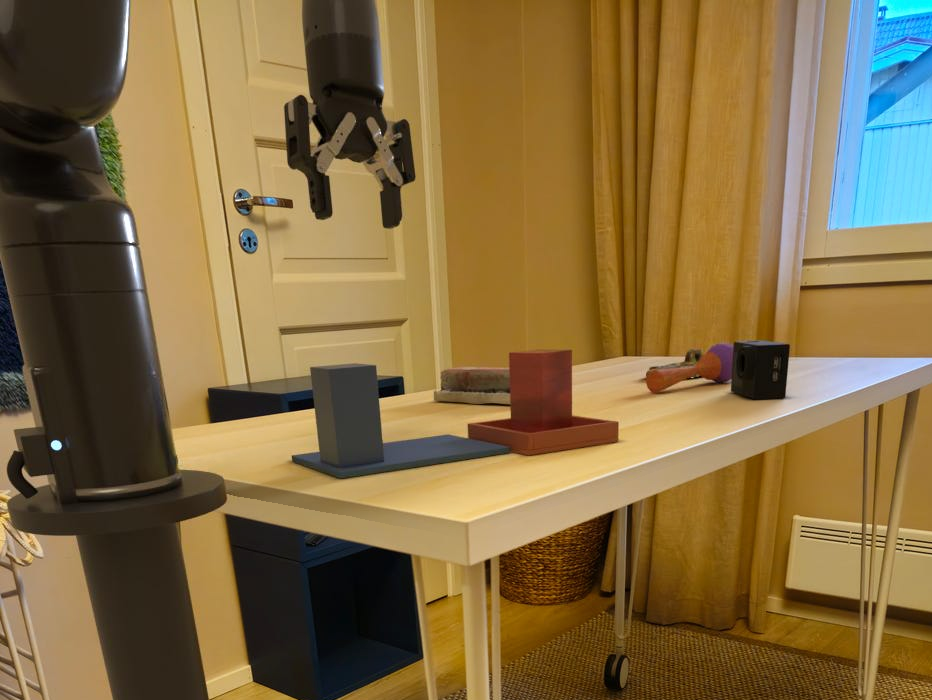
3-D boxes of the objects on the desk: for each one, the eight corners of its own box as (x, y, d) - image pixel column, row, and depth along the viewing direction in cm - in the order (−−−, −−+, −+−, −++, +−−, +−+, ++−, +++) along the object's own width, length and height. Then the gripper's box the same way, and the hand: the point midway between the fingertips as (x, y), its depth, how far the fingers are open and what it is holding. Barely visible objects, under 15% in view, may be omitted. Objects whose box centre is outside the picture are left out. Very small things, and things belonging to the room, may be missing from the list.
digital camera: (721, 392, 123) (724, 341, 121) (759, 390, 124) (763, 339, 121) (744, 400, 114) (748, 345, 111) (785, 398, 114) (790, 343, 111)
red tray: (528, 455, 82) (528, 434, 81) (468, 442, 91) (467, 423, 90) (618, 441, 87) (618, 421, 86) (553, 430, 96) (552, 412, 95)
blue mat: (340, 478, 75) (339, 471, 75) (291, 461, 85) (291, 455, 84) (510, 452, 84) (509, 446, 83) (448, 439, 93) (448, 434, 93)
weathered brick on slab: (429, 368, 126) (472, 363, 133) (431, 402, 128) (473, 395, 135) (526, 370, 116) (567, 364, 123) (527, 407, 117) (568, 399, 124)
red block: (543, 442, 86) (541, 353, 83) (511, 438, 89) (508, 352, 86) (572, 435, 89) (572, 349, 85) (540, 432, 92) (538, 349, 89)
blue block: (339, 468, 77) (329, 369, 73) (320, 461, 80) (309, 366, 77) (384, 461, 79) (376, 365, 76) (364, 455, 82) (355, 363, 79)
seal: (676, 388, 141) (722, 378, 151) (680, 358, 139) (726, 350, 149) (630, 379, 147) (677, 371, 156) (633, 351, 144) (680, 344, 154)
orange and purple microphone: (635, 364, 127) (714, 344, 139) (642, 404, 129) (719, 381, 140) (667, 357, 123) (746, 337, 134) (674, 399, 124) (751, 375, 136)
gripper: (300, 12, 78) (320, 206, 81) (422, 49, 87) (434, 222, 91) (259, 42, 83) (280, 223, 87) (378, 74, 92) (391, 236, 96)
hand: (359, 222), depth 89 cm, fingers open, 8 cm apart
